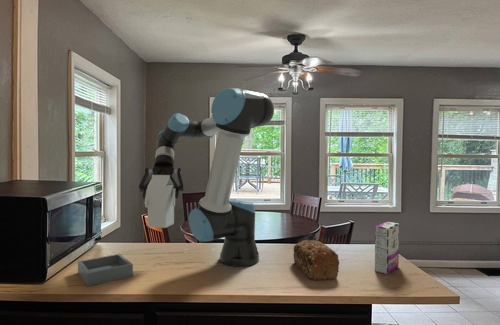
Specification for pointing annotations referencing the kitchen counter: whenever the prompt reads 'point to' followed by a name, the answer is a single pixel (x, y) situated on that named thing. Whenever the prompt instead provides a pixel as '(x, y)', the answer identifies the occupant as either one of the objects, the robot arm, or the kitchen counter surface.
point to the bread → (316, 260)
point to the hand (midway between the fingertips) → (159, 205)
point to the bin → (104, 269)
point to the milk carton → (160, 201)
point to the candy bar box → (386, 247)
